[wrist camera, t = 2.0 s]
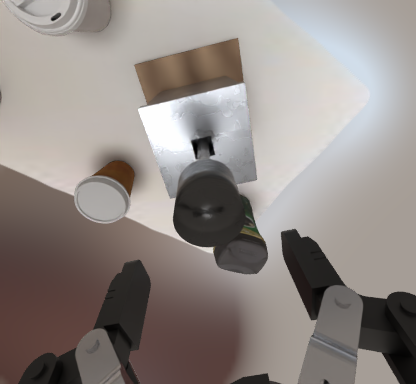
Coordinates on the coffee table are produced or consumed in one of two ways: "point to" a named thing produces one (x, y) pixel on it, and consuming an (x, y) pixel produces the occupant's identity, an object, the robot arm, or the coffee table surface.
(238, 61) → the walnut board
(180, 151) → the silver block with slot
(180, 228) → the plunger
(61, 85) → the coffee table surface
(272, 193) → the coffee table surface
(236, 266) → the coffee jar
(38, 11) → the coffee cup
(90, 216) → the disposable coffee cup
